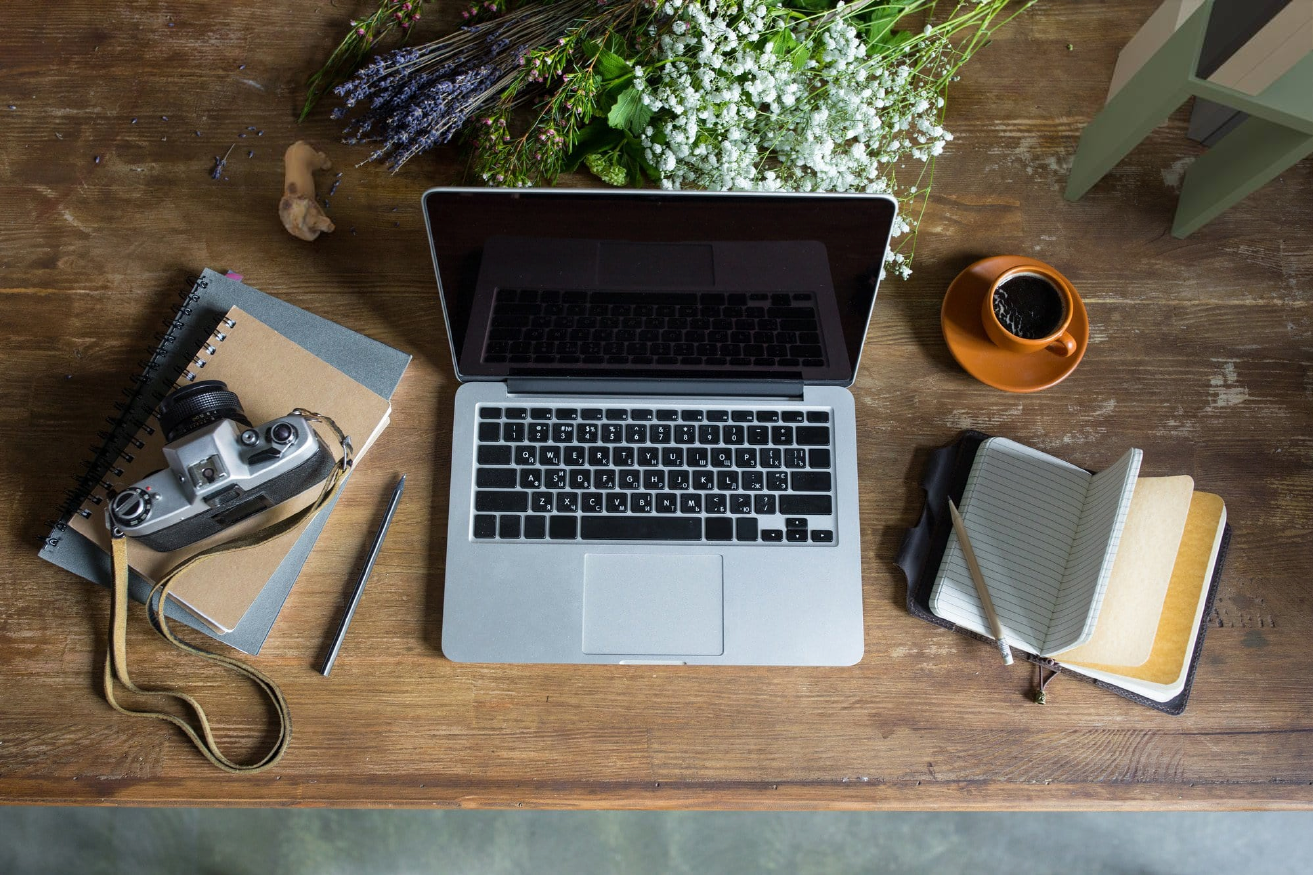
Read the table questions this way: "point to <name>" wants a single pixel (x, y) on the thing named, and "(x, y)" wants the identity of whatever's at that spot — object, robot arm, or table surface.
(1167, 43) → the shelf
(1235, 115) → the grey books
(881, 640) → the table surface
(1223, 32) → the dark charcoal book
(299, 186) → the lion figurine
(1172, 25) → the cream book
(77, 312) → the table surface
